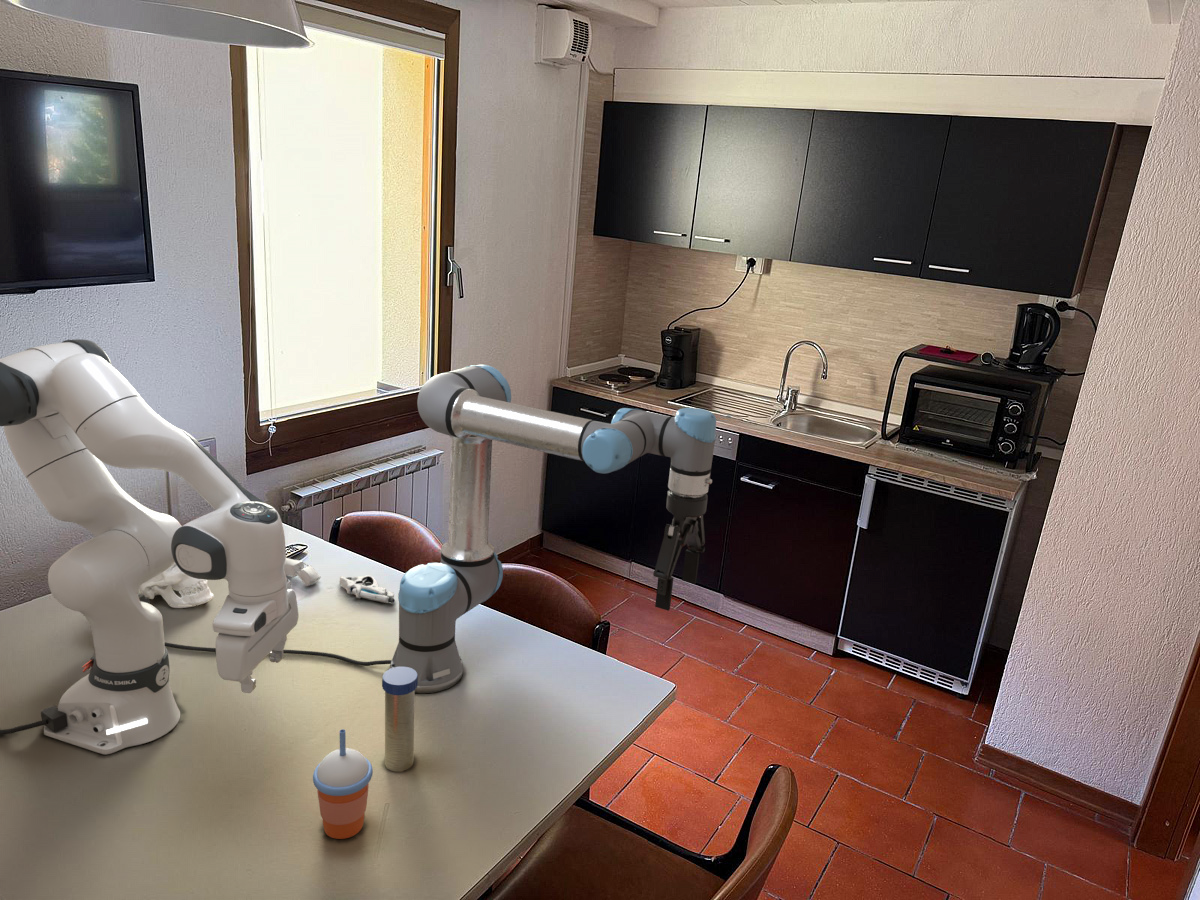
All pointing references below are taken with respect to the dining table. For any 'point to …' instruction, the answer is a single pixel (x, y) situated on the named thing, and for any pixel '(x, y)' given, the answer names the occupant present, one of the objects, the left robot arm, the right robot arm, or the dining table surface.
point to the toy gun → (366, 589)
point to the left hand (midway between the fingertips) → (263, 675)
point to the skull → (177, 588)
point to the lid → (400, 680)
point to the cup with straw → (343, 790)
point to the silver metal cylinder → (399, 731)
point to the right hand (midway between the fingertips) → (676, 594)
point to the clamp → (301, 571)
